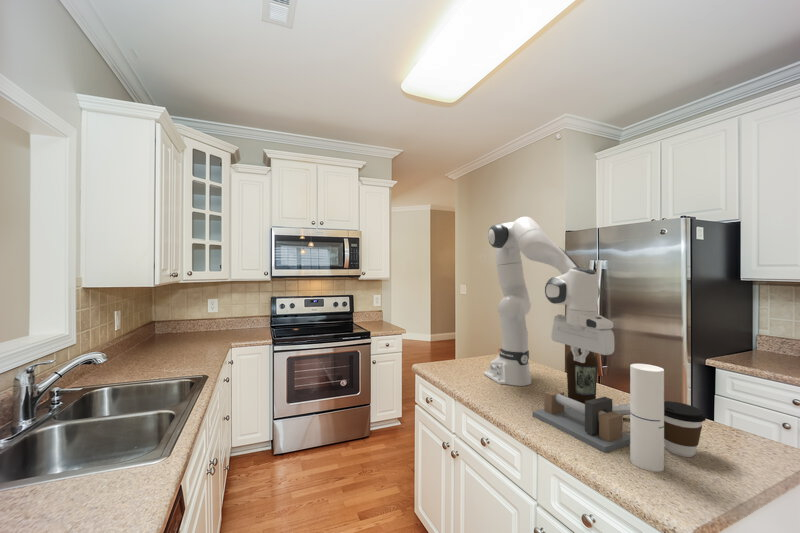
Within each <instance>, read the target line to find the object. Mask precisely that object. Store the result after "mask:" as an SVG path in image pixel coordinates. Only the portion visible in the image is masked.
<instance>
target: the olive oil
mask: <svg viewBox="0 0 800 533" xmlns="http://www.w3.org/2000/svg"><path fill="white" fill-rule="evenodd" d="M578 353H579V355H580V356H581V354H582V352H581V348H579V350H578ZM565 360H566V362H565V363H566V365H565V367H566V382H567V397H568V398H571V399H573V400H576V401H578V402H581V403H583V404H585V401H588V400H592V399H597V382H598V381H597V379H598V378H597V377H598V360H597V357H596V355H595V353H594V352H591V351H589V354H588V355H587V356H586V358H585V363H580V362H577V361H574V355H573V353H572V351H571V350H570V351H569V352H568V353H567V355H566V359H565Z"/></svg>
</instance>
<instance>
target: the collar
mask: <svg viewBox="0 0 800 533" xmlns="http://www.w3.org/2000/svg"><path fill="white" fill-rule="evenodd" d="M612 405H613V398H610V397H608V396H607V397H606V396H603V397H596V399H592V400H588V401H585V432H588V433H590V434H592V435H593V434H597V433H599V421H598V411H601V410H602V411H604V412H606V413H608V412H612Z"/></svg>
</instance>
